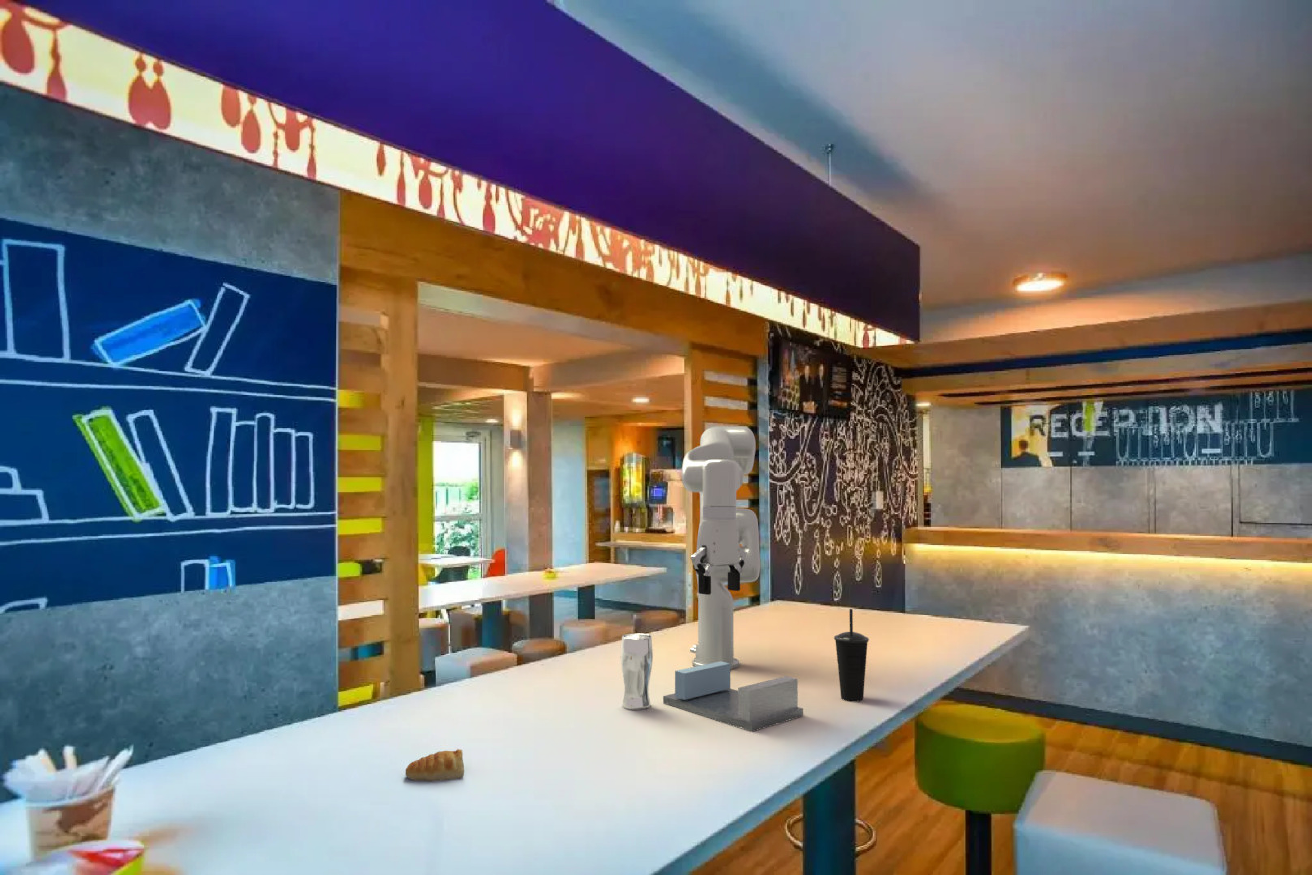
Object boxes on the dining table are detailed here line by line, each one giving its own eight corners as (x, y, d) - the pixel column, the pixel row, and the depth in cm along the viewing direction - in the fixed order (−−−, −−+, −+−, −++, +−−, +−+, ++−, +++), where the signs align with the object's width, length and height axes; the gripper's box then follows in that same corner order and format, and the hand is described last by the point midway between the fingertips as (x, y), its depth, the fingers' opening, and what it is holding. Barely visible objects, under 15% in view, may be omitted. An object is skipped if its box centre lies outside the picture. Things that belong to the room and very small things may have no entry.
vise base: (663, 702, 168) (663, 668, 168) (714, 690, 178) (714, 658, 179) (751, 731, 148) (751, 692, 149) (803, 715, 159) (802, 679, 159)
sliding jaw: (675, 696, 166) (675, 670, 167) (720, 685, 176) (720, 661, 176) (684, 699, 164) (684, 673, 164) (730, 688, 173) (730, 663, 174)
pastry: (405, 787, 121) (406, 762, 121) (404, 772, 127) (405, 749, 127) (466, 779, 124) (466, 755, 124) (462, 765, 130) (462, 742, 131)
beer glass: (615, 708, 164) (615, 637, 165) (628, 700, 170) (628, 632, 171) (644, 712, 161) (645, 640, 162) (657, 703, 167) (657, 634, 168)
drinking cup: (866, 694, 175) (865, 606, 177) (872, 703, 168) (871, 612, 169) (832, 693, 176) (831, 606, 178) (837, 702, 169) (836, 611, 170)
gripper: (731, 513, 179) (732, 587, 177) (680, 514, 167) (680, 593, 165) (757, 514, 173) (757, 590, 172) (705, 515, 161) (705, 597, 160)
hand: (719, 592), depth 169 cm, fingers open, 9 cm apart
